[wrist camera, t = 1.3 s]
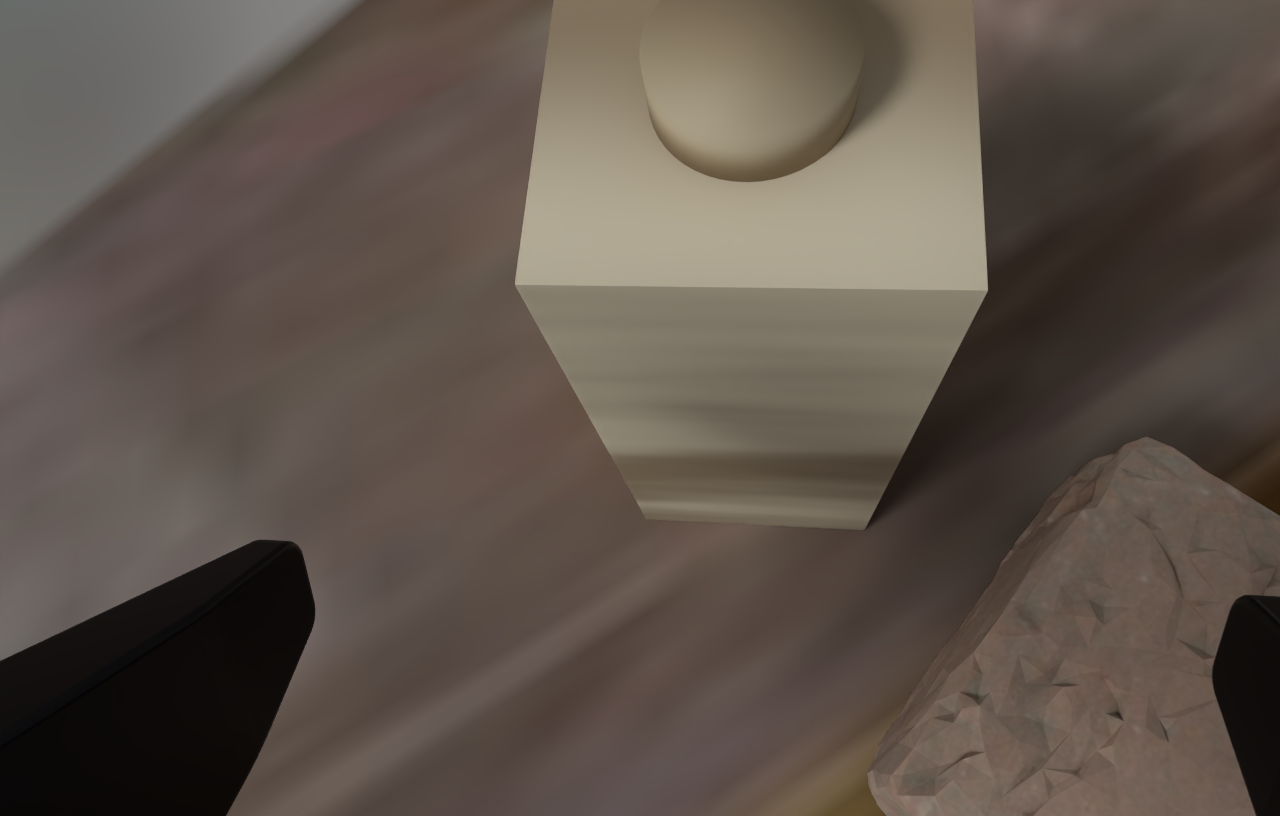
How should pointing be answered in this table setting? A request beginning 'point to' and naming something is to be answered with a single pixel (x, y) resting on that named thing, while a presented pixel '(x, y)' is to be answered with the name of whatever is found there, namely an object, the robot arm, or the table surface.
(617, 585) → the table surface
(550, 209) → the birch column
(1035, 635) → the brick
